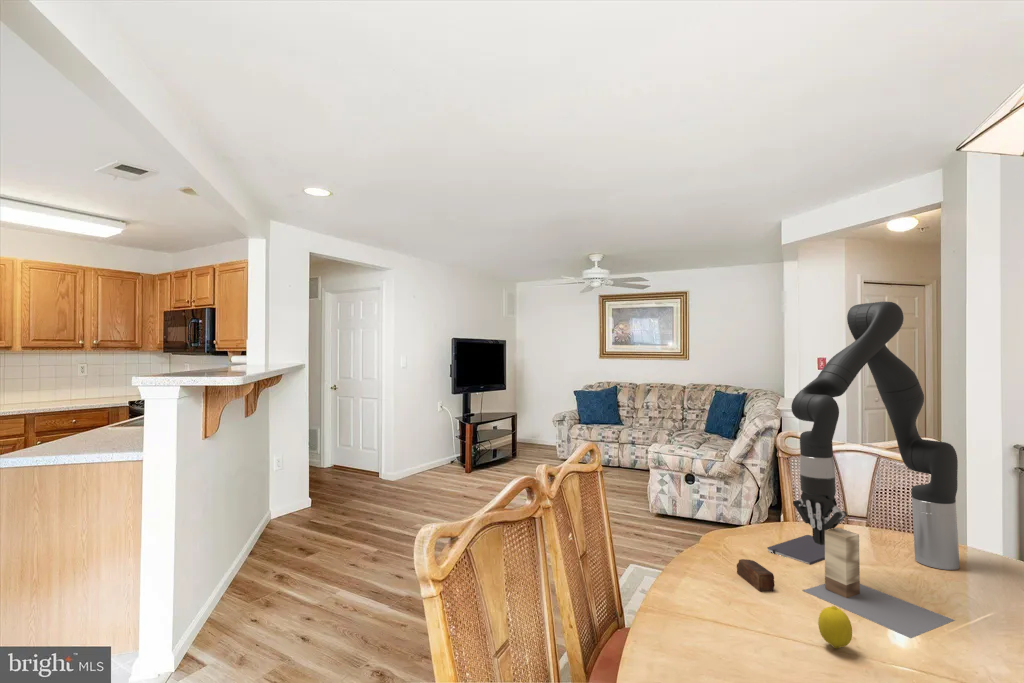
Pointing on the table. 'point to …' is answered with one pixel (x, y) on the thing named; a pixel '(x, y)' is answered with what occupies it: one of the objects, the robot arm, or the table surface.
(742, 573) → the brick
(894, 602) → the rubber mat
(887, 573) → the table surface
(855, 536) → the tall block
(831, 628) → the lemon
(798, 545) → the notebook
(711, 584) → the table surface
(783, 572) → the table surface
